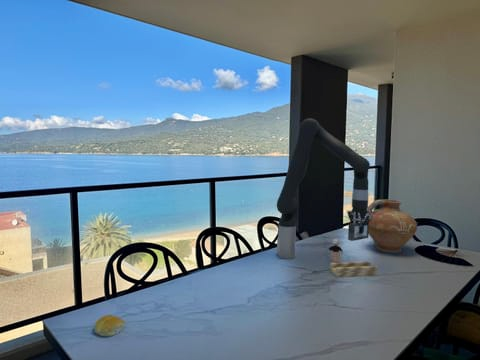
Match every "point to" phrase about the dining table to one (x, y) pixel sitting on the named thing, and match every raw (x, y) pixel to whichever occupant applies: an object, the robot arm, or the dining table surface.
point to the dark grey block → (357, 232)
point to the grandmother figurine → (335, 251)
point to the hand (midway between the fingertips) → (358, 232)
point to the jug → (390, 225)
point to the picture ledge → (353, 269)
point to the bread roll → (109, 325)
